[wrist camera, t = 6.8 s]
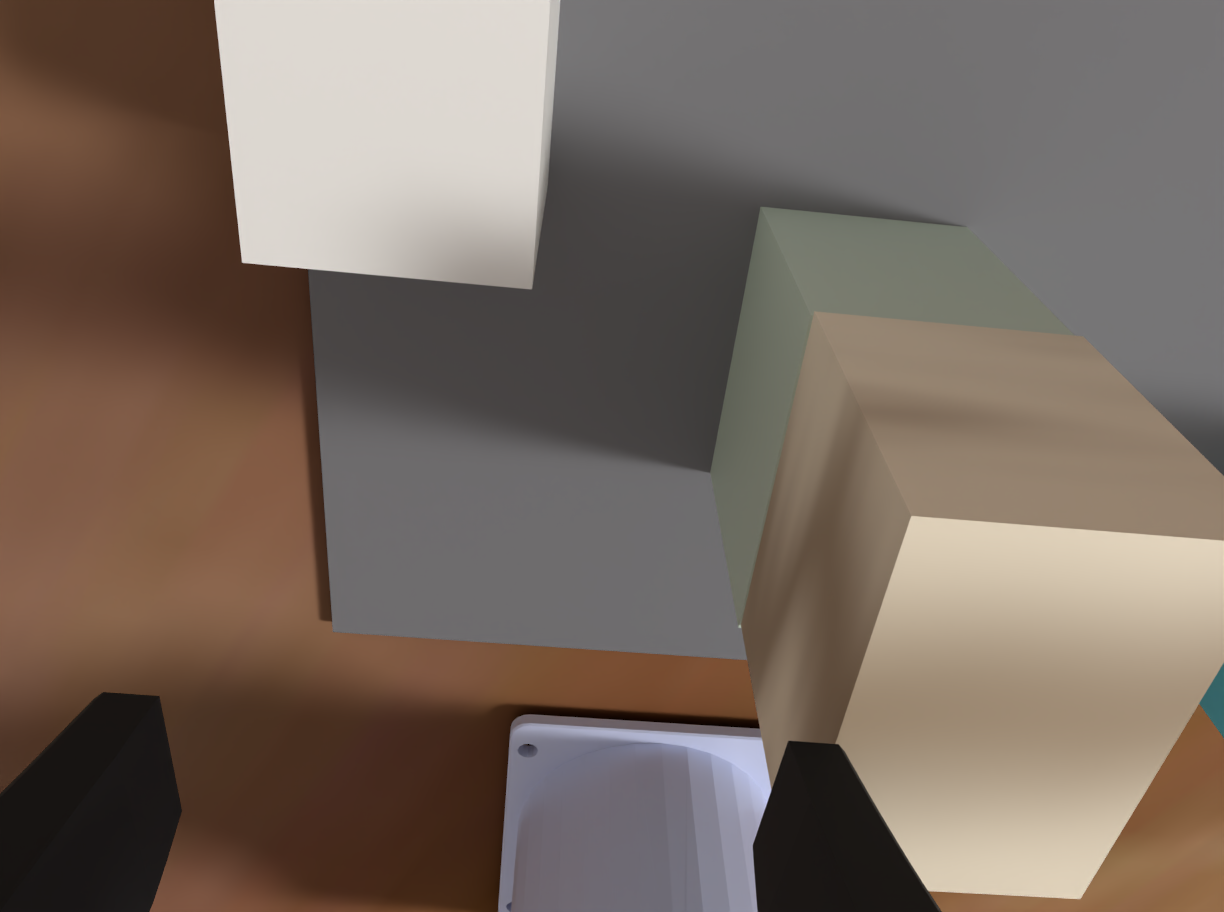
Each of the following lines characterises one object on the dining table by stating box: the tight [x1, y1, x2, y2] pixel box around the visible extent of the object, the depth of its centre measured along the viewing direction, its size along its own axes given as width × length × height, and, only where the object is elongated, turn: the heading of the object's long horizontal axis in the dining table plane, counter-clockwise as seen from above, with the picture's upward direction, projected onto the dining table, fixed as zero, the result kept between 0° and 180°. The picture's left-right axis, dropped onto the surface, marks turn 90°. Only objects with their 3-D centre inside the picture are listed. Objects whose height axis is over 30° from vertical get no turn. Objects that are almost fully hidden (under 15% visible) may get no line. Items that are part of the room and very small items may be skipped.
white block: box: [214, 0, 560, 289], centre depth 14 cm, size 6×4×5 cm, turn 174°
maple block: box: [741, 311, 1224, 899], centre depth 13 cm, size 6×4×5 cm, turn 174°
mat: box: [308, 0, 1224, 660], centre depth 19 cm, size 21×27×1 cm
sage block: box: [710, 207, 1075, 628], centre depth 18 cm, size 6×4×5 cm, turn 174°
